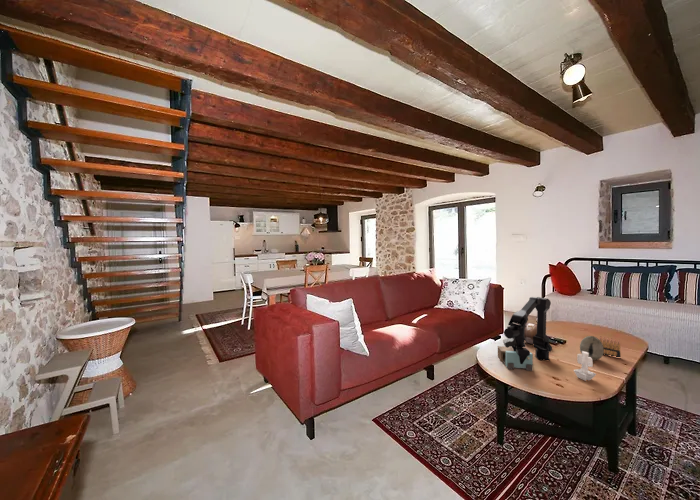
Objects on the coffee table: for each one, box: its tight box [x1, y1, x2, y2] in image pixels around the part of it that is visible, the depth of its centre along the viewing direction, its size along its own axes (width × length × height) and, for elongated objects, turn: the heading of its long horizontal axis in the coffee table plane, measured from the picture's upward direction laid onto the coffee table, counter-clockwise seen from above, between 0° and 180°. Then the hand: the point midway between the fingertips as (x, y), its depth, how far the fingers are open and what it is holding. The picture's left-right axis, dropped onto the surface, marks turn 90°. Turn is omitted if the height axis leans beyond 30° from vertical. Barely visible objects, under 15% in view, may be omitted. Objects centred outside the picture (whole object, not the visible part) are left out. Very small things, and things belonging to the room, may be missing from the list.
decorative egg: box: [579, 335, 604, 361], centre depth 184 cm, size 12×12×15 cm
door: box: [505, 351, 534, 369], centre depth 175 cm, size 14×4×9 cm, turn 76°
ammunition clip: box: [599, 336, 621, 357], centre depth 189 cm, size 11×2×12 cm, turn 41°
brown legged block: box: [497, 345, 534, 372], centre depth 181 cm, size 16×18×7 cm
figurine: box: [572, 351, 597, 382], centre depth 161 cm, size 7×9×15 cm
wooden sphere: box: [524, 322, 537, 345], centre depth 213 cm, size 15×15×15 cm
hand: (518, 360), depth 175 cm, fingers open, 9 cm apart
